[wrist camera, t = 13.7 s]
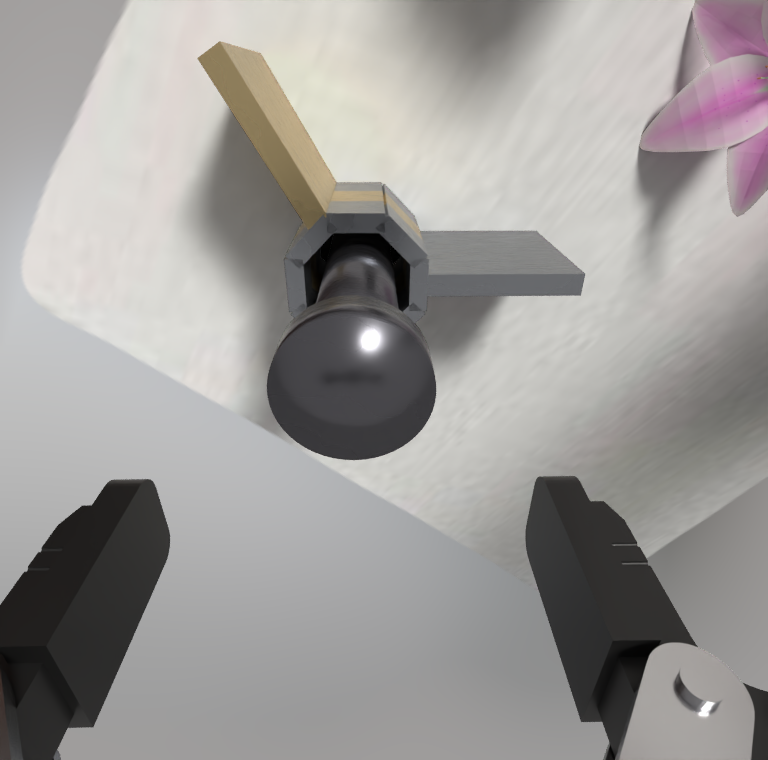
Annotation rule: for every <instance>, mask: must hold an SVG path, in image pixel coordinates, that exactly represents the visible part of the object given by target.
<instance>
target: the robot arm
mask: <svg viewBox="0 0 768 760" xmlns="http://www.w3.org/2000/svg"><path fill="white" fill-rule="evenodd" d="M169 547H170V533H169V529H168V525H167V522H166V519H165V515H164V512H163V509H162V506H161V503H160V499H159V496H158V493H157V490H156V487H155V484H154V483H153V481H151V480H149V479H136V480H135V479H132V480H111V481H109V482H108V483H107V484H106V485H105V487H104V488H103V490H102V491H101V493H100V494H99V495H98V497H97V499H96V500H95V501H94V503H93V504H92V506H81V507H80V508H79V509H78V510H76V511H75V512H74V513H72V514H71V515H70V516H69V517H68V518H66V519H65V520H64V521H63V522H61V523H60V524H59V525H58V526H57V527H56V529H55V530H54V531H53V533H52V534H51V535H50V537H49V538H48V540H47V541H46V543H45V544H44V545H43V547H42V551H41V552H39V553H38V554H37V555H36V556H35V558H34V559H33V561H32V562H31V563H30V565H29V566H28V571H27V572H24V573H23V574H22V576H21V577H20V578H19V580H18V581H17V583H16V584H15V586H14V587H13V588H12V589H11V591H10V592H9V594H8V595H7V596H6V598H5V599H4V601H3V602H2V603H1V605H0V760H61V757H60V754H59V751H58V750H57V749H58V747H59V745H60V743H61V740H62V738H63V736H64V734H65V732H66V730H67V728H76V727H93V726H94V724H95V722H96V720H97V717H98V715H99V713H100V711H101V708H102V706H103V704H104V701H105V699H106V697H107V695H108V692H109V690H110V688H111V685H112V683H113V681H114V679H115V676H116V674H117V672H118V670H119V667H120V665H121V663H122V661H123V658H124V656H125V654H126V652H127V649H128V647H129V644H130V642H131V640H132V638H133V636H134V633H135V631H136V629H137V626H138V624H139V622H140V620H141V617H142V615H143V613H144V610H145V608H146V606H147V604H148V602H149V599H150V597H151V595H152V592H153V590H154V588H155V585H156V583H157V581H158V579H159V577H160V574H161V572H162V570H163V567H164V565H165V563H166V560H167V557H168V553H169ZM526 549H527V554H528V558H529V561H530V565H531V568H532V571H533V574H534V577H535V580H536V583H537V586H538V589H539V592H540V596H541V598H542V602H543V604H544V608H545V611H546V614H547V617H548V620H549V623H550V626H551V630H552V633H553V636H554V639H555V642H556V645H557V648H558V651H559V654H560V658H561V661H562V664H563V667H564V670H565V673H566V676H567V679H568V682H569V685H570V688H571V692H572V695H573V698H574V701H575V704H576V707H577V710H578V713H579V716H580V719H581V722H603V725H604V728H605V731H606V733H607V736H608V739H609V745H608V747H607V749H606V753H605V756H604V759H603V760H768V692H767V691H763V690H760V689H757V688H754V687H751V686H749V685H746V684H744V683H742V681H741V680H740V679H739V678H738V676H737V675H736V674H735V673H734V672H733V671H732V670H731V669H730V668H729V667H728V666H727V665H726V664H725V663H723V662H722V661H721V660H719V659H718V658H716V657H715V656H714V655H712V654H710V653H709V652H707V651H705V650H703V649H701V648H698V647H697V645H696V644H695V642H694V641H693V639H692V638H691V636H690V634H689V632H688V631H687V629H686V627H685V625H684V624H683V622H682V620H681V618H680V617H679V615H678V613H677V611H676V610H675V608H674V606H673V605H672V603H671V601H670V599H669V597H668V596H667V594H666V592H665V590H664V589H663V587H662V585H661V584H660V582H659V580H658V578H657V577H656V575H655V573H654V571H653V570H652V568H651V567H650V566H648V561H647V559H646V557H645V555H644V554H643V552H642V550H641V548H640V547H638V546H637V541H636V540H635V538H634V536H633V534H632V533H631V531H630V529H629V527H628V526H627V524H626V522H625V520H624V519H622V518H621V517H620V516H619V515H618V514H617V513H616V512H615V511H614V510H612V509H611V508H610V507H609V506H608V505H607V504H606V503H605V502H604V501H593V502H590V500H589V498H588V496H587V495H586V493H585V491H584V489H583V487H582V485H581V483H580V481H579V480H578V478H576V477H575V476H549V477H538V478H537V479H536V482H535V486H534V491H533V496H532V501H531V506H530V511H529V516H528V521H527V525H526Z"/></svg>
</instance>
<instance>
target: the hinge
mask: <svg viewBox="0 0 768 760" xmlns="http://www.w3.org/2000/svg"><path fill="white" fill-rule="evenodd" d="M198 60H199V62H200V63H201V65H202V66H203V68H204V69H205V71H206V72H207V74H208V75H209V77H210V79H211V80H212V82H213V83H214V85H215V86H216V88H217V89H218V91H219V93H220V94H221V96H222V97H223V99H224V100H225V102H226V103H227V105H228V106H229V108H230V110H231V111H232V113H233V114H234V116H235V117H236V119H237V120H238V122H239V124H240V125H241V127H242V128H243V130H244V131H245V133H246V134H247V136H248V137H249V139H250V141H251V142H252V144H253V145H254V147H255V148H256V150H257V151H258V153H259V155H260V156H261V158H262V159H263V161H264V162H265V164H266V165H267V167H268V168H269V170H270V172H271V173H272V175H273V176H274V178H275V179H276V181H277V182H278V184H279V186H280V187H281V189H282V190H283V192H284V193H285V195H286V196H287V198H288V199H289V201H290V203H291V204H292V206H293V207H294V209H295V210H296V212H297V213H298V215H299V217H300V218H301V220H302V223H301V225H300V227H299V229H298V231H297V233H296V235H295V237H294V239H293V241H292V243H291V245H290V247H289V249H288V251H287V253H286V255H285V259H284V264H285V274H286V284H287V294H288V304H289V312H292V313H291V315H292V316H293V317H294V318H295V317H296V316H297V315H299V314H300V313H301V312H302V311H304V310H305V309H307V308H308V307H310V306H311V305H314V304H316V302H317V298H318V294H319V290H320V286H321V282H322V278H323V274H324V270H325V266H326V261H325V260H323V259H322V258H321V250H320V247H321V246H322V245H323V244H324V243H325V241H326V240H327V239H328V238H329V237H330V236H331V235H332V234H333V233H380V234H381V235H382V236H383V237H384V239H385V240H386V241H387V242H388V243H389V244H390V245H391V246H392V247H393V248H394V249H395V250H396V251H397V252H398V253H399V254H400V255H401V257H400V258H399V259H398V260H397V261H396V262H395V263H394V264H393V270H394V278H395V286H396V295H397V303H398V309H399V310H401V311H402V312H403V313H405V314H406V315H407V316H408V317H410V319H411V320H412V321H413V322H414V323H416V322H417V321H418V320H419V319H420V318H421V317H422V316H423V315H424V314H425V311H427V296H562V295H581V291H582V287H583V282H584V277H585V273H584V272H583V271H581V270H580V269H579V268H578V267H577V266H576V265H575V264H573V263H572V262H571V261H570V260H569V259H568V258H567V257H566V256H564V255H563V254H562V253H561V252H560V251H559V250H558V249H556V248H555V247H554V246H553V245H552V244H551V243H550V242H548V241H547V240H546V239H545V238H544V237H543V236H542V235H540V234H539V233H538V232H537V231H420V230H419V227H418V224H417V221H416V219H415V216H414V215H413V214H412V213H411V212H410V211H409V210H408V208H407V207H406V206H405V205H404V204H403V203H402V202H401V201H400V200H399V199H398V198H397V197H396V196H395V195H394V194H393V193H392V191H391V190H390V189H389V188H388V187H387V186H386V185H385V184H383V186H382V183H337V182H336V181H335V179H334V177H333V176H332V174H331V172H330V170H329V169H328V167H327V165H326V164H325V162H324V160H323V159H322V157H321V155H320V153H319V152H318V150H317V148H316V147H315V145H314V143H313V142H312V140H311V138H310V136H309V135H308V133H307V131H306V130H305V128H304V126H303V125H302V123H301V121H300V119H299V118H298V116H297V114H296V113H295V111H294V109H293V108H292V106H291V104H290V102H289V101H288V99H287V97H286V96H285V94H284V92H283V91H282V89H281V87H280V85H279V84H278V82H277V80H276V79H275V77H274V75H273V74H272V72H271V70H270V68H269V67H268V65H267V63H266V62H265V60H264V58H263V56H262V55H261V53H258V52H255V51H251V50H248V49H244V48H241V47H238V46H234V45H231V44H227V43H224V42H218V43H217V44H216V45H214V46H213V47H212V48H210V49H209V50H208V51H206V52H205V53H204V54H202V55H201V56H200V57H198Z"/></svg>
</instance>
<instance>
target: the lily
mask: <svg viewBox="0 0 768 760" xmlns="http://www.w3.org/2000/svg"><path fill="white" fill-rule="evenodd" d="M692 13H693V21H694V24H695V28H696V32H697V35H698V38H699V41H700V44H701V46H702V49H703V52H704V54H705V56H706V58H707V60H708V62H709V64H710V67H709V68H707V69H706V70H705V71H703V72H702V73H701V74H699V75H698V76H697V77H695V78H694V79H693V80H692V81H691V82H689V83H688V84H687V85H686V86H685V87H684V88H683V89H682V90H681V91H680V92H679V93H678V94H677V95H676V96H675V97H674V98H673V99H672V100H671V101H670V102H669V103H668V104H667V105H666V106H665V107H664V108H663V110H662V111H661V112H660V113H659V114H658V115H657V116H656V118H655V119H654V120H653V121H652V122H651V123H650V125H649V126H648V127H647V128H646V130H645V131H644V133H643V134H642V136H641V140H640V145H639V147H640V148H641V149H642V150H646V151H652V152H693V151H709V150H715V149H721V148H727V147H728V151H727V183H728V192H729V200H730V204H731V208H732V212H733V213H734V214H735V215H736V216H740V215H742V214H744V213H745V212H746V211H747V210H748V209H750V208H751V207H752V206H753V205H754V204H755V203H756V202H757V201H758V199H759V198H760V197H761V196H762V195H763V194H764V193H765V192H766V191H767V190H768V0H695V3H694V6H693V8H692Z"/></svg>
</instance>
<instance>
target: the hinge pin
mask: <svg viewBox="0 0 768 760" xmlns="http://www.w3.org/2000/svg"><path fill="white" fill-rule="evenodd" d="M267 395H268V400H269V404H270V407H271V410H272V412H273V414H274V416H275V418H276V420H277V422H278V423H279V424H280V426H281V427H282V428H283V430H284V431H285V432H286V433H287V434H288V435H289V436H290V437H291V438H293V439H294V440H295V441H296V442H297V443H299V444H301V445H302V446H304V447H305V448H307V449H309V450H311V451H313V452H315V453H318V454H321V455H324V456H327V457H332V458H337V459H344V460H362V459H369V458H375V457H379V456H382V455H385V454H388V453H390V452H393V451H395V450H397V449H399V448H400V447H402V446H404V445H405V444H406V443H408V442H409V441H411V440H412V439H413V438H414V437H415V436H416V435H417V434H418V433H419V432H420V431H421V430H422V428H423V427H424V426H425V424H426V422H427V421H428V419H429V417H430V415H431V413H432V410H433V407H434V404H435V398H436V381H435V375H434V370H433V366H432V361H431V357H430V352H429V348H428V345H427V342H426V340H425V338H424V336H423V334H422V332H421V331H420V329H419V328H418V326H417V325H416V324H415V323H414V322H413V321H412V320H411V319H410V317H408V316H407V315H406V314H405V313H403V312H402V311H401V310H399V309H398V303H397V295H396V286H395V278H394V270H393V262H392V254H391V246H390V244H389V243H388V242H387V241H386V240H385V239H384V237H383V236H382V235H381V234H380V233H334V234H333V238H332V242H331V246H330V250H329V254H328V258H327V262H326V266H325V270H324V274H323V278H322V282H321V286H320V290H319V294H318V298H317V302H316V304H314V305H311V306H310V307H308V308H307V309H305V310H304V311H302V312H301V313H300V314H299V315H297V316H296V317H295V318H294V319H293V320H292V321H291V323H290V324H289V325H288V326H287V328H286V329H285V331H284V333H283V334H282V337H281V339H280V341H279V344H278V347H277V349H276V352H275V355H274V358H273V361H272V363H271V366H270V370H269V374H268V380H267Z"/></svg>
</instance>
